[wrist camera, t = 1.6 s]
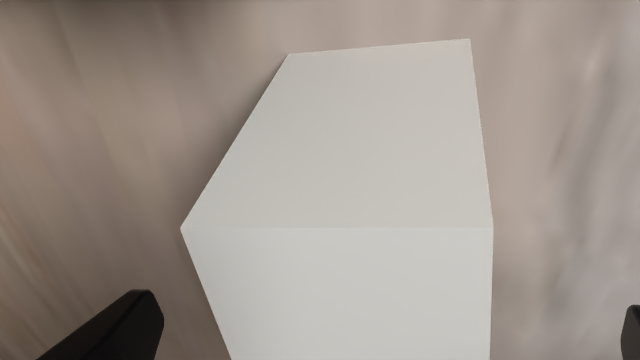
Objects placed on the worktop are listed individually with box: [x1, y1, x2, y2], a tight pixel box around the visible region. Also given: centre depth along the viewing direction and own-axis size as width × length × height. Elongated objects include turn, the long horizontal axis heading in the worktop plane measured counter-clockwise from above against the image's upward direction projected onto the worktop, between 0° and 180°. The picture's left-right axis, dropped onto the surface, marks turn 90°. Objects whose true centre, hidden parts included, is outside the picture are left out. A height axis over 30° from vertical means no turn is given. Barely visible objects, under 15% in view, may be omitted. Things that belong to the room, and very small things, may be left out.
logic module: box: [180, 38, 493, 360], centre depth 12 cm, size 4×6×7 cm
